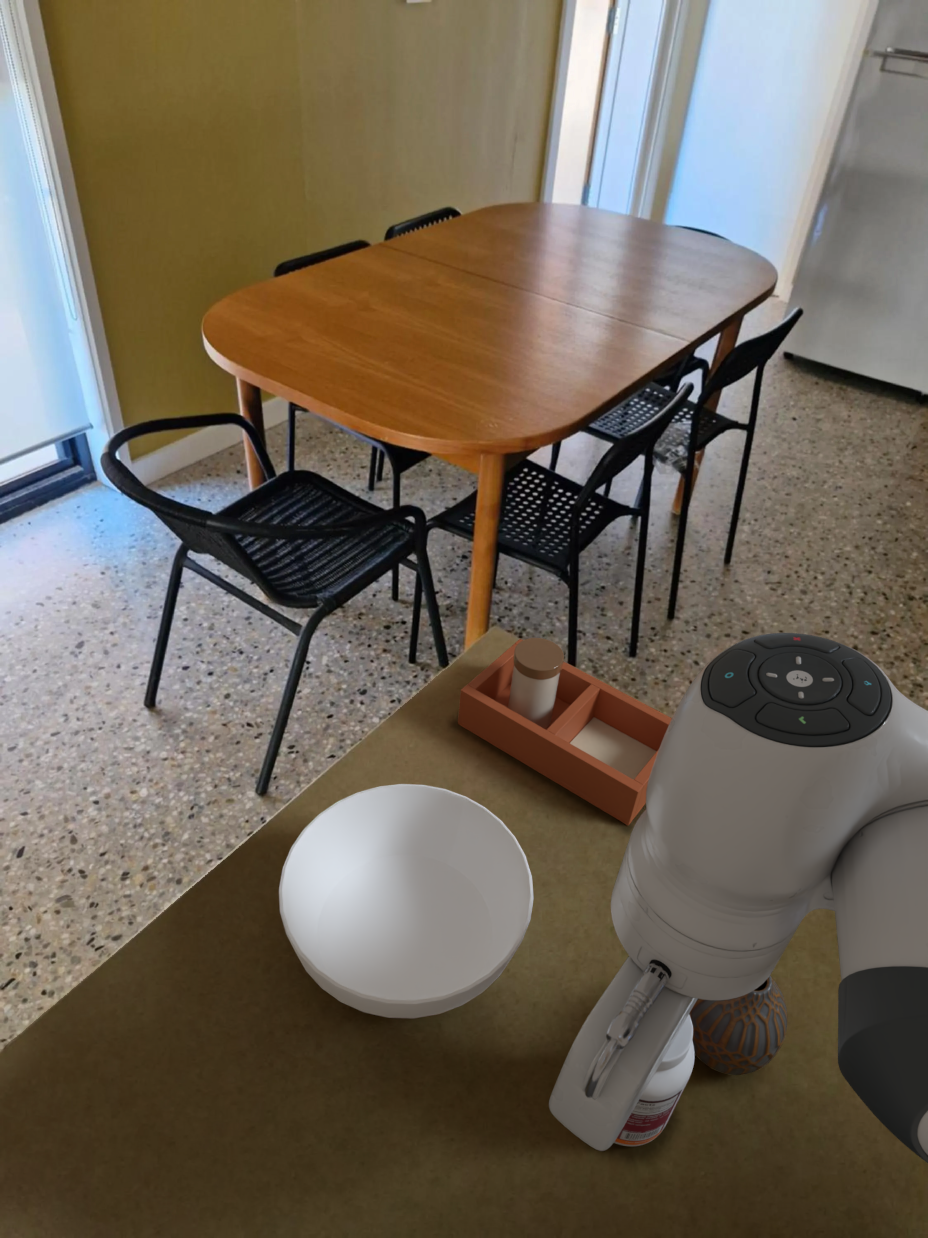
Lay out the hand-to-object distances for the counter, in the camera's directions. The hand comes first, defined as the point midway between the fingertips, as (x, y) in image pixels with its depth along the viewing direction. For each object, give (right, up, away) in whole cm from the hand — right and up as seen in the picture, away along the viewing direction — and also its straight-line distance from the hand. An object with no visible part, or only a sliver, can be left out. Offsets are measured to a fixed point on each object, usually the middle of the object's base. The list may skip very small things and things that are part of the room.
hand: (645, 1031), depth 54 cm
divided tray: (-1, +13, +31) cm, 34 cm away
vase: (+7, -5, +10) cm, 13 cm away
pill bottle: (0, -8, +6) cm, 10 cm away
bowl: (-16, 0, +14) cm, 21 cm away
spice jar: (-5, +16, +33) cm, 37 cm away
